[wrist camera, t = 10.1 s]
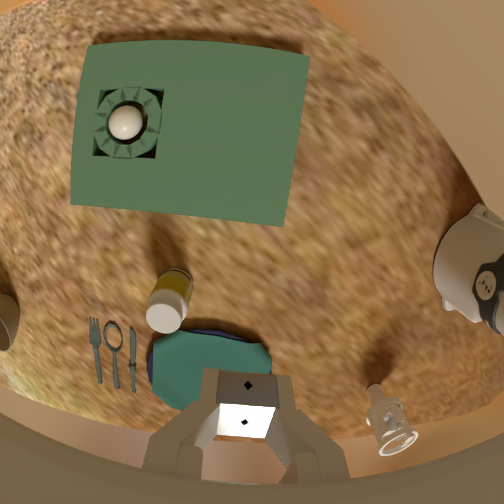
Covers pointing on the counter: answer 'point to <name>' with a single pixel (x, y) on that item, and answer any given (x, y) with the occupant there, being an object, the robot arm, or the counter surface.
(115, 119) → the golf ball
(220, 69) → the putting board
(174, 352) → the cutlery set
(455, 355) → the counter surface
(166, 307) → the supplement bottle
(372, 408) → the white tall piece
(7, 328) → the flower pot
